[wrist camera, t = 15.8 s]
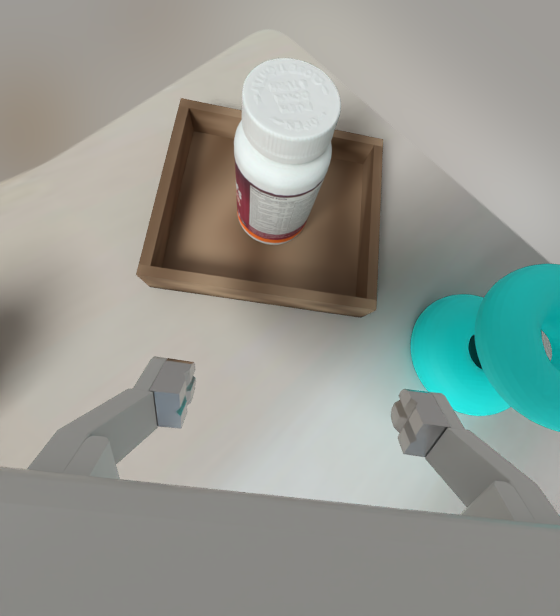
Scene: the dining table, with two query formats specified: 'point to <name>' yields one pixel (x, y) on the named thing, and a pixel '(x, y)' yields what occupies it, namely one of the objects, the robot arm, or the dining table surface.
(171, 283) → the tray
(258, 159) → the pill bottle
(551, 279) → the donuts
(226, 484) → the dining table surface
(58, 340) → the dining table surface
